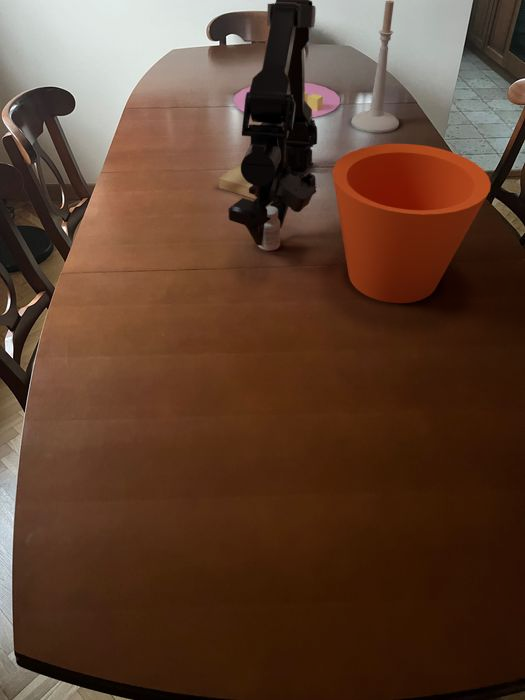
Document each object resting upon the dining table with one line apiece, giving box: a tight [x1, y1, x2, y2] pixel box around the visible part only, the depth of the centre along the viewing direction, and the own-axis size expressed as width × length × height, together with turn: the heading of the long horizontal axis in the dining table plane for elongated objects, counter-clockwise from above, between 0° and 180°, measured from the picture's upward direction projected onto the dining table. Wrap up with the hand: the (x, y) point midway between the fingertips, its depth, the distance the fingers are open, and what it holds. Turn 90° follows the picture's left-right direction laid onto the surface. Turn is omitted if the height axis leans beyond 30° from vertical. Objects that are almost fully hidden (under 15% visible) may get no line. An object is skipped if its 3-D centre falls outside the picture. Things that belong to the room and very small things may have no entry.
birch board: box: [218, 162, 256, 200], centre depth 135 cm, size 11×11×2 cm
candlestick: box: [351, 0, 400, 134], centre depth 152 cm, size 13×13×30 cm
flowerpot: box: [332, 143, 492, 304], centre depth 102 cm, size 25×25×20 cm
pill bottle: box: [257, 205, 281, 252], centre depth 114 cm, size 4×4×8 cm
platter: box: [232, 82, 341, 119], centre depth 175 cm, size 32×32×3 cm
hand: (268, 236), depth 115 cm, fingers open, 7 cm apart
